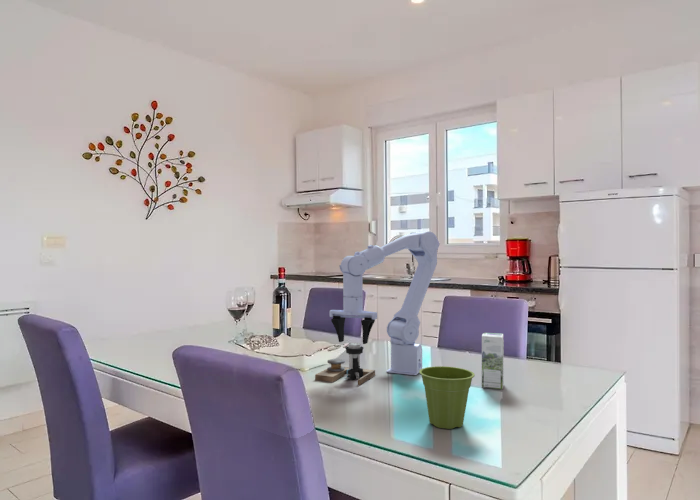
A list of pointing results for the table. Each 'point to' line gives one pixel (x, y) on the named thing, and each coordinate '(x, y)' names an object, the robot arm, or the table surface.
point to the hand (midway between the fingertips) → (353, 342)
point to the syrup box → (492, 360)
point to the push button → (354, 361)
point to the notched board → (341, 372)
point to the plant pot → (446, 394)
